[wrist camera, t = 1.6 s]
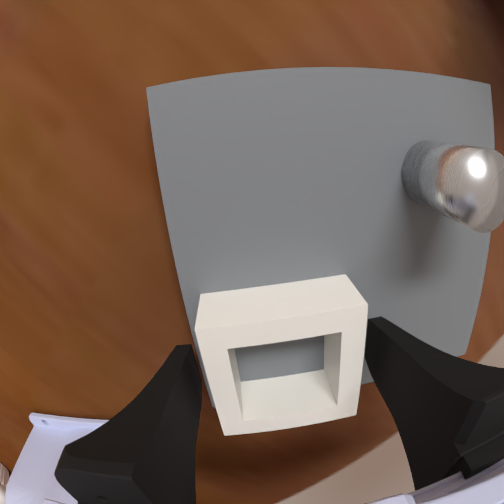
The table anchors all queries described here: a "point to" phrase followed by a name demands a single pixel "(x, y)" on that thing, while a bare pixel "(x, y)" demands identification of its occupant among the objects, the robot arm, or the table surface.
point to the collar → (279, 330)
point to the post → (457, 182)
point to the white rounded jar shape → (3, 482)
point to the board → (319, 196)
